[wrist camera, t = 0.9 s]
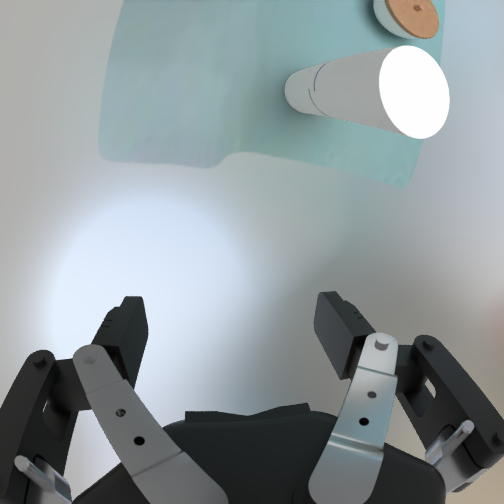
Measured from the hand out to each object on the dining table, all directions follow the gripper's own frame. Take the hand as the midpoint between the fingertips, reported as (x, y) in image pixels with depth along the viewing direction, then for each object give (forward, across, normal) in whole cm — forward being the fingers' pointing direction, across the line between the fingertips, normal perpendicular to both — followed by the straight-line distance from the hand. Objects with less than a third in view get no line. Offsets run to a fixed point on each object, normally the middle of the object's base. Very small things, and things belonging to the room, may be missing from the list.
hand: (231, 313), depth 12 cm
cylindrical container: (+30, -12, -17) cm, 37 cm away
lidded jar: (+27, -27, -36) cm, 52 cm away
